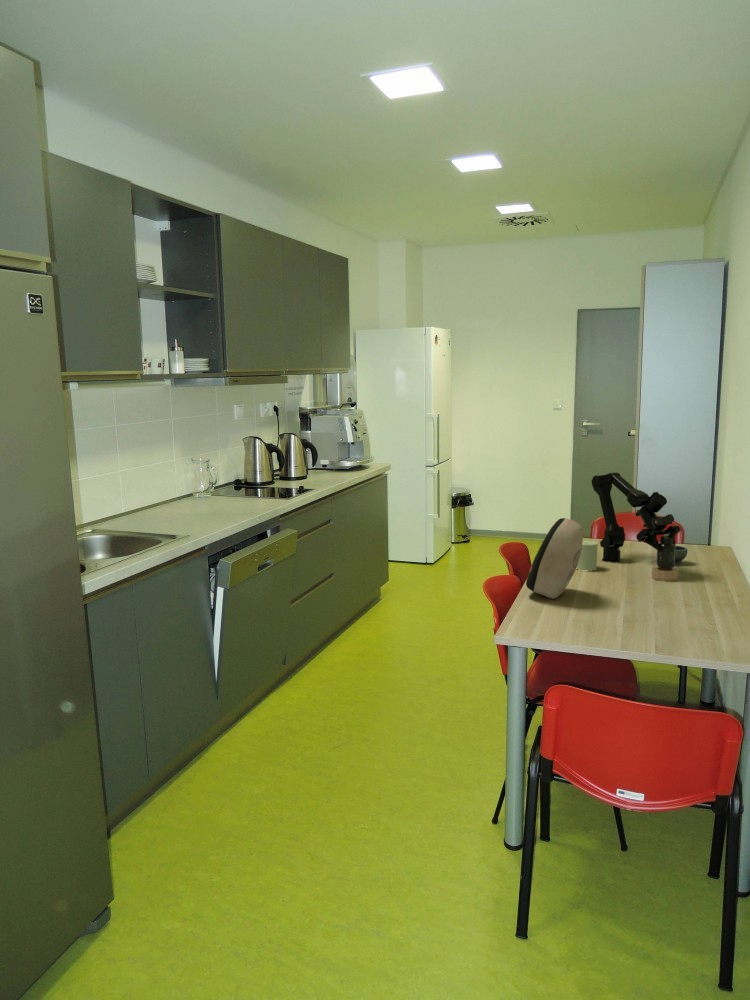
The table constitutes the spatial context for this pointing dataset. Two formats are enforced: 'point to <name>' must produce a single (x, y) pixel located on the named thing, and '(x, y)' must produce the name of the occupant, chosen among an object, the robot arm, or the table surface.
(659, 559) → the supplement bottle
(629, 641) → the table surface
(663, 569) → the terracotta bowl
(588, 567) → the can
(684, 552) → the mortar and pestle
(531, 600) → the table surface
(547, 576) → the grey rounded piece
